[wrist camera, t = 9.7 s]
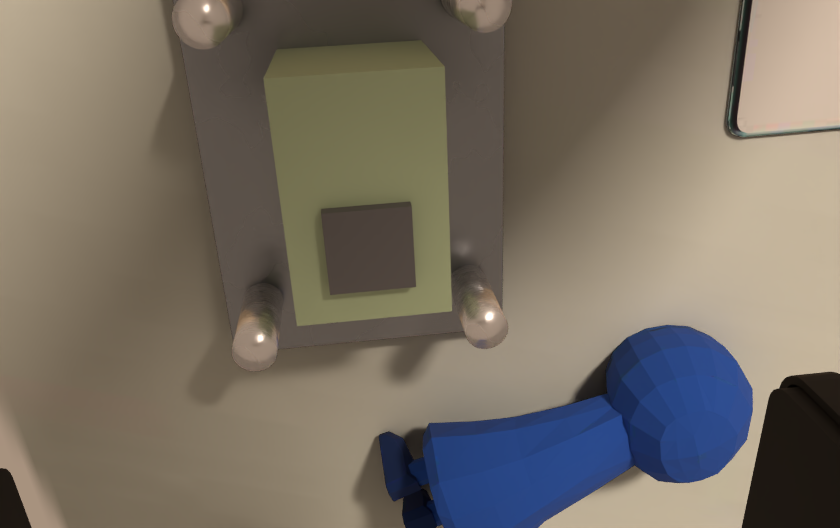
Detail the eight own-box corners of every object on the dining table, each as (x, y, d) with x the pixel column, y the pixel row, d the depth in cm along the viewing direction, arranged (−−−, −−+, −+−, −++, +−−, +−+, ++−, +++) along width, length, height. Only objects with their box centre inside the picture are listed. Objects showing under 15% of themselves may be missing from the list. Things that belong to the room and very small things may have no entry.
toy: (419, 512, 33) (735, 415, 32) (431, 631, 28) (814, 518, 27) (369, 399, 30) (714, 288, 29) (371, 507, 25) (798, 375, 24)
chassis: (169, -65, 22) (130, -65, 17) (496, -80, 22) (535, -84, 18) (239, 336, 27) (222, 410, 23) (495, 312, 28) (524, 379, 24)
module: (276, 49, 22) (262, 81, 17) (421, 40, 22) (446, 69, 18) (302, 255, 25) (296, 333, 20) (430, 244, 25) (454, 317, 21)
